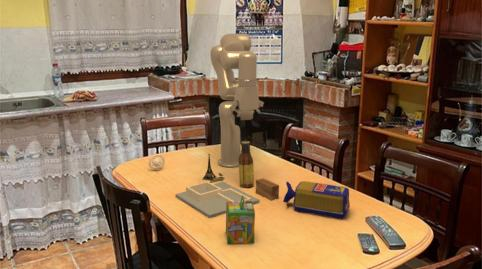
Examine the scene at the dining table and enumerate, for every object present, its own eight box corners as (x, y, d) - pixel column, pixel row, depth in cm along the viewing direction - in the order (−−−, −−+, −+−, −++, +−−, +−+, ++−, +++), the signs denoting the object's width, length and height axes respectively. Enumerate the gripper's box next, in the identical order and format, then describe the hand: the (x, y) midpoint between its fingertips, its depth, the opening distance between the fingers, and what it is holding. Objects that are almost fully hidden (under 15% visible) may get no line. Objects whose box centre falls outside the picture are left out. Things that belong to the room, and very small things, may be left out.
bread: (345, 221, 170) (347, 195, 167) (281, 210, 179) (281, 185, 177) (350, 210, 179) (352, 185, 176) (288, 200, 188) (289, 176, 186)
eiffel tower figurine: (198, 186, 203) (198, 157, 200) (189, 178, 212) (189, 151, 208) (229, 180, 210) (229, 152, 207) (219, 173, 219) (219, 146, 215)
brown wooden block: (263, 191, 197) (263, 178, 196) (278, 198, 190) (279, 185, 188) (255, 193, 195) (255, 180, 194) (271, 201, 187) (271, 187, 186)
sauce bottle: (255, 184, 204) (256, 141, 199) (250, 189, 199) (250, 144, 194) (242, 182, 207) (242, 139, 202) (236, 186, 202) (236, 143, 196)
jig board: (223, 184, 205) (223, 175, 204) (259, 202, 186) (259, 192, 184) (175, 196, 191) (175, 187, 189) (209, 218, 171) (209, 207, 170)
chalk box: (225, 231, 161) (225, 192, 157) (251, 231, 162) (252, 191, 158) (227, 245, 153) (227, 203, 149) (254, 244, 153) (255, 202, 149)
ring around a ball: (163, 167, 225) (162, 151, 223) (168, 171, 220) (167, 155, 218) (147, 170, 221) (147, 154, 219) (152, 174, 216) (151, 157, 214)
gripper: (257, 80, 199) (257, 119, 203) (224, 84, 189) (225, 125, 193) (269, 82, 193) (268, 122, 198) (235, 86, 183) (235, 128, 188)
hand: (246, 123), depth 196 cm, fingers open, 9 cm apart
